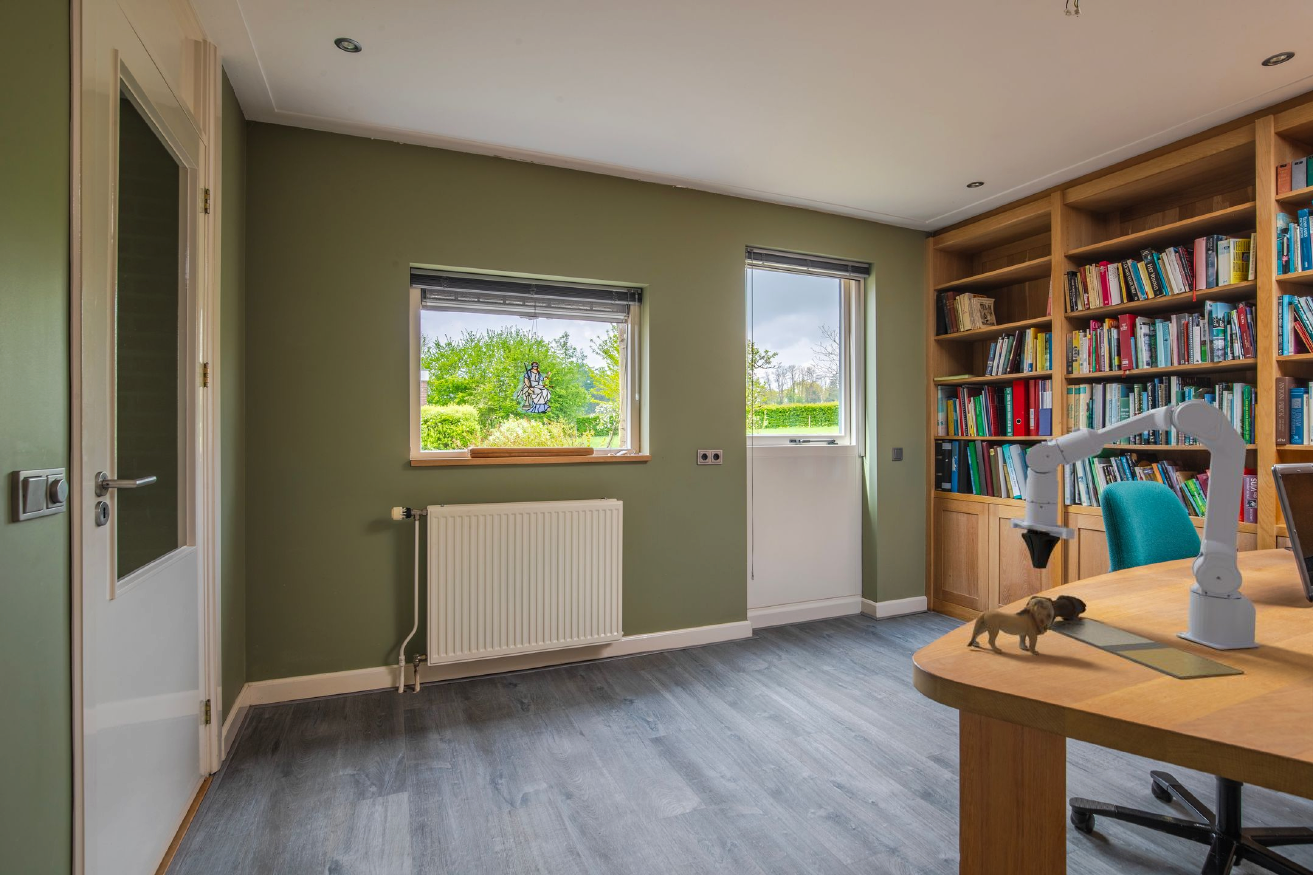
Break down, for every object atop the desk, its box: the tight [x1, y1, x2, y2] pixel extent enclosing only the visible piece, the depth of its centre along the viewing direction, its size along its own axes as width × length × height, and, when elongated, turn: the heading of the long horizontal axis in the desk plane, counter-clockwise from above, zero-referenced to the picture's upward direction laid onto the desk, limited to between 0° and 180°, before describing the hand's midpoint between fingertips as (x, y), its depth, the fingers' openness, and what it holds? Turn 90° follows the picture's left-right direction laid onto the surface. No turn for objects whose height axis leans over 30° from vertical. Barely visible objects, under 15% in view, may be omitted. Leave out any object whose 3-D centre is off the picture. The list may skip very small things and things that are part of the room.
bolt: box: [1025, 594, 1087, 625], centre depth 129 cm, size 6×5×15 cm
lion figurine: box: [966, 598, 1054, 656], centre depth 111 cm, size 15×5×9 cm, turn 93°
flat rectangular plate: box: [1048, 618, 1245, 680], centre depth 115 cm, size 13×28×1 cm, turn 13°
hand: (1039, 567), depth 134 cm, fingers closed
